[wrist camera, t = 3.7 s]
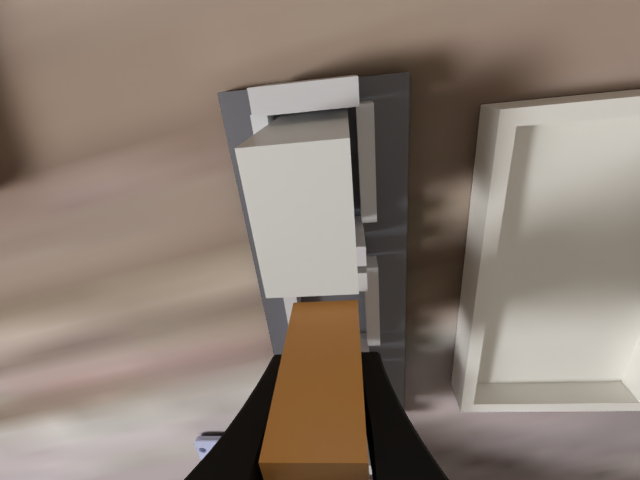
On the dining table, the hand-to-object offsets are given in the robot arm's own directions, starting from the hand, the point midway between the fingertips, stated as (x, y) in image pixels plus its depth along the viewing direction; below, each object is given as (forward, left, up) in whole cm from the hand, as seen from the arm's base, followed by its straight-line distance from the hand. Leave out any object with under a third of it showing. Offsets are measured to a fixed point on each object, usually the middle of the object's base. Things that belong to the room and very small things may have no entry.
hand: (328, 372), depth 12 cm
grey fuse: (+7, 0, -5) cm, 8 cm away
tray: (+1, -11, -5) cm, 12 cm away
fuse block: (0, 0, -5) cm, 5 cm away
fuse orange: (0, 0, -2) cm, 2 cm away
